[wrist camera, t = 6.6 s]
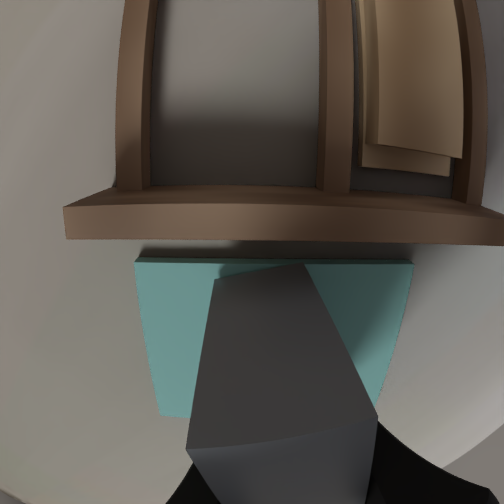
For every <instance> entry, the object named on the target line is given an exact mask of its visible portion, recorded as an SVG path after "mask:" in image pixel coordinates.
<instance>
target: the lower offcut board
mask: <svg viewBox="0 0 504 504" xmlns="http://www.w3.org/2000/svg"><path fill="white" fill-rule="evenodd" d="M355 6H356V20H357V36H358V60H359V137H358V162H357V166H361V167H371V168H382V169H392V170H401V171H410V172H419V173H426V174H434V175H441V176H448V177H449V171H450V157H446V156H441V155H436V154H430V153H425V152H419V151H413V150H407V149H401V148H394V147H387V146H380V145H373V144H365V140H366V108H367V65H366V35H365V17H364V3H363V0H355Z"/></svg>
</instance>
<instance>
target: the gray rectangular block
mask: <svg viewBox="0 0 504 504" xmlns="http://www.w3.org/2000/svg"><path fill="white" fill-rule="evenodd" d="M377 422H378V415H377V413H376V411H375V408H374V406H373V404H372V402H371V400H370V397H369V395H368V393H367V391H366V389H365V387H364V384H363V382H362V380H361V378H360V376H359V374H358V372H357V370H356V367H355V365H354V363H353V361H352V359H351V357H350V355H349V353H348V351H347V349H346V347H345V345H344V342H343V340H342V338H341V336H340V334H339V332H338V330H337V328H336V326H335V324H334V322H333V320H332V318H331V316H330V314H329V312H328V310H327V308H326V306H325V304H324V302H323V300H322V298H321V296H320V294H319V292H318V290H317V288H316V286H315V284H314V282H313V280H312V278H311V276H310V274H309V273H308V271H307V269H306V267H305V265H304V263H303V262H300V263H295V264H290V265H285V266H280V267H275V268H270V269H265V270H260V271H254V272H249V273H244V274H239V275H234V276H228V277H223V278H218V279H214V284H213V289H212V295H211V300H210V306H209V311H208V316H207V322H206V328H205V333H204V339H203V345H202V350H201V356H200V362H199V368H198V374H197V380H196V386H195V392H194V398H193V404H192V411H191V417H190V424H189V430H188V437H187V443H186V451H187V453H188V454H189V456H190V458H191V459H192V461H193V462H194V464H195V466H196V467H197V469H198V470H199V472H200V474H201V475H202V477H203V478H204V480H205V481H206V483H207V484H208V486H209V487H210V489H211V490H212V492H213V493H214V495H215V496H216V498H217V499H218V500H219V502H220V503H221V504H365V500H366V495H367V490H368V484H369V479H370V473H371V467H372V460H373V454H374V447H375V439H376V431H377Z"/></svg>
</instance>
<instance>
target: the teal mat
mask: <svg viewBox="0 0 504 504" xmlns="http://www.w3.org/2000/svg"><path fill="white" fill-rule="evenodd" d="M300 262H303V263H304V265H305V267H306V269H307V271H308V273H309V274H310V276H311V278H312V280H313V282H314V284H315V286H316V288H317V290H318V292H319V294H320V296H321V298H322V300H323V302H324V304H325V306H326V308H327V310H328V312H329V314H330V316H331V318H332V320H333V322H334V324H335V326H336V328H337V330H338V332H339V334H340V336H341V338H342V340H343V342H344V345H345V347H346V349H347V351H348V353H349V355H350V357H351V359H352V361H353V363H354V365H355V367H356V370H357V372H358V374H359V376H360V378H361V380H362V382H363V384H364V387H365V389H366V391H367V393H368V395H369V397H370V400H371V402H372V404H373V406H374V407H375V404H376V402H377V399H378V396H379V393H380V391H381V388H382V385H383V382H384V379H385V376H386V373H387V370H388V367H389V364H390V360H391V357H392V354H393V350H394V347H395V344H396V340H397V337H398V333H399V329H400V326H401V322H402V318H403V314H404V310H405V306H406V302H407V297H408V293H409V289H410V284H411V279H412V274H413V269H414V263H412V262H411V261H410V260H373V259H235V258H155V257H138V258H137V259H136V260H135V262H134V268H135V277H136V285H137V293H138V300H139V307H140V314H141V320H142V327H143V333H144V339H145V344H146V350H147V355H148V361H149V366H150V371H151V376H152V380H153V385H154V390H155V394H156V399H157V403H158V407H159V411H160V415H161V416H172V417H186V418H190V417H191V411H192V404H193V398H194V392H195V386H196V380H197V374H198V368H199V362H200V356H201V350H202V345H203V339H204V333H205V328H206V322H207V316H208V311H209V306H210V300H211V295H212V289H213V284H214V279H218V278H223V277H228V276H234V275H239V274H244V273H249V272H254V271H260V270H265V269H270V268H275V267H280V266H285V265H290V264H295V263H300Z"/></svg>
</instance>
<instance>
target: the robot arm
mask: <svg viewBox="0 0 504 504" xmlns="http://www.w3.org/2000/svg"><path fill="white" fill-rule="evenodd" d="M166 504H221V503H220V502H219V500H218V499H217V498H216V496H215V495H214V493H213V492H212V490H211V489H210V487H209V486H208V484H207V483H206V481H205V480H204V478H203V477H202V475H201V474H200V472H199V470H198V469H197V467H196V466H195V464H194V462H193V464H192V465H191V467H190V469H189V471H188V472H187V474H186V476H185V477H184V479H183V480H182V482H181V484H180V485H179V486H178V488H177V489H176V491H175V492H174V493H173V495H172V496H171V497H170V499H169V500H168V501H167V502H166ZM365 504H499V502H498V500H497V498H496V497H495V496H494V494H493V493H492V492H491V491H490V489H488V488H486V487H482V486H479V485H476V484H474V483H471V482H468V481H466V480H463V479H461V478H458V477H457V476H454V475H452V474H450V473H448V472H446V471H444V470H443V469H441V468H439V467H437V466H435V465H433V464H432V463H430V462H428V461H427V460H425V459H424V458H422V457H421V456H419V455H418V454H416V453H415V452H414V451H412V450H411V449H409V448H408V447H407V446H405V445H404V444H403V443H402V442H400V441H399V440H398V439H397V438H396V437H395V436H394V435H392V434H391V433H390V432H389V431H388V430H387V429H386V428H385V427H384V426H383V425H382V424H381V423H380V422H379V421H378V422H377V431H376V439H375V447H374V454H373V460H372V467H371V473H370V479H369V484H368V490H367V495H366V500H365Z"/></svg>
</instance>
